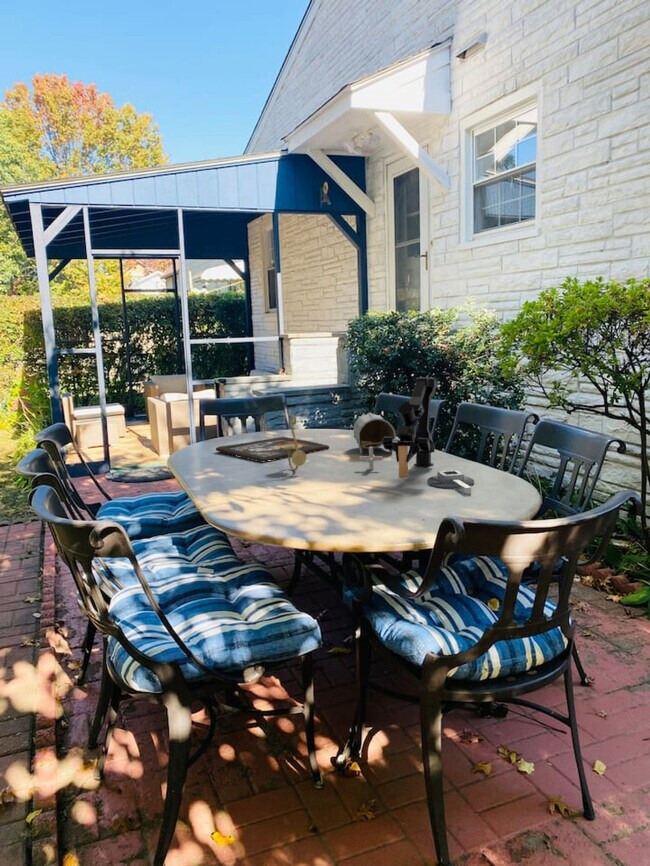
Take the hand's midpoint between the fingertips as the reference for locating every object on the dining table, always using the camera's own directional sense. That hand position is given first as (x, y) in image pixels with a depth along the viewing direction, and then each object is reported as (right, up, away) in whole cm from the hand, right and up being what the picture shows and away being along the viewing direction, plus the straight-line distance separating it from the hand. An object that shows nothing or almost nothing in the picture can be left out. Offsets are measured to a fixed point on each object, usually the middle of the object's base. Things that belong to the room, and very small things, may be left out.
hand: (402, 461), depth 254 cm
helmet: (-6, +2, +69) cm, 69 cm away
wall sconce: (-44, -6, +31) cm, 54 cm away
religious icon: (-57, +1, +78) cm, 97 cm away
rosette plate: (+20, -9, -4) cm, 22 cm away
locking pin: (+1, -6, +2) cm, 7 cm away
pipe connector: (-10, -5, +28) cm, 30 cm away
